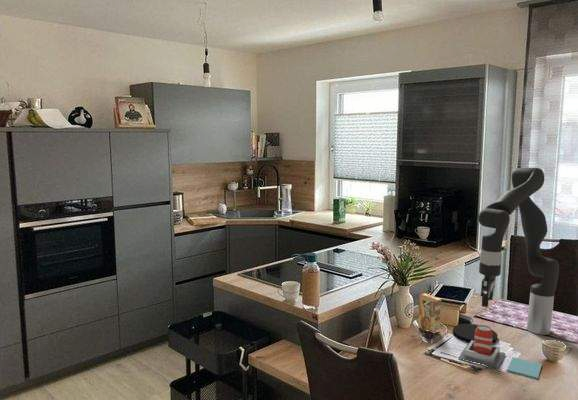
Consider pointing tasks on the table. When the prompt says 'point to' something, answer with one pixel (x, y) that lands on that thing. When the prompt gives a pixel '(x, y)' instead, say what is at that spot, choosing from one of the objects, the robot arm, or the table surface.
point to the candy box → (429, 312)
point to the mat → (524, 368)
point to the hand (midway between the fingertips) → (487, 303)
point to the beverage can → (483, 339)
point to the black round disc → (469, 332)
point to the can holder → (483, 356)
